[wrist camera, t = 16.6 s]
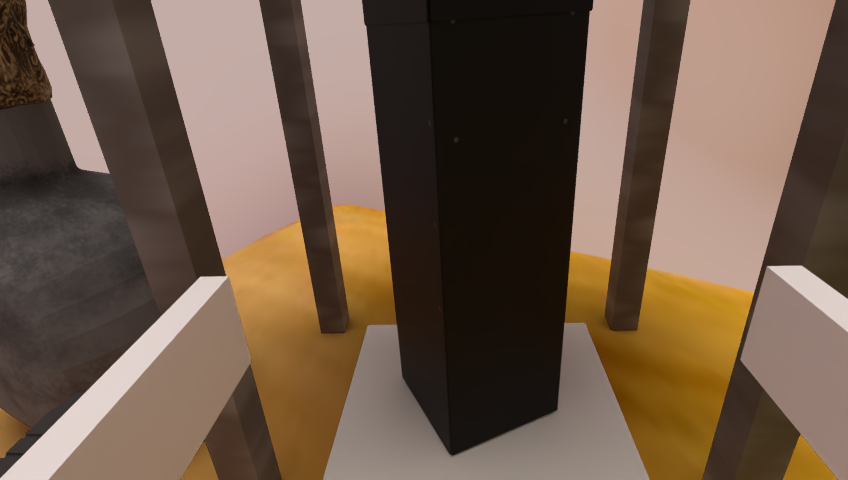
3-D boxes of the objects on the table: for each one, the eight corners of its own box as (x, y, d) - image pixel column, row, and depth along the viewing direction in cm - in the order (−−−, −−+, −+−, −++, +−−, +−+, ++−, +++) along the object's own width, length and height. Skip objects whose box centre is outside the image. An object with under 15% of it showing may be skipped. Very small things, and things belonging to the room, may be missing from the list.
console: (627, 312, 40) (719, -313, 24) (764, 553, 22) (1507, -1305, 6) (328, 315, 42) (228, -254, 26) (232, 537, 24) (-278, -850, 8)
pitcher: (122, 520, 26) (-244, -195, 13) (-45, 416, 34) (-372, -87, 21) (264, 388, 34) (131, -116, 22) (105, 330, 42) (-61, -61, 30)
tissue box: (400, 377, 34) (352, -89, 22) (494, 344, 37) (496, -87, 25) (450, 459, 27) (420, -142, 15) (560, 412, 30) (606, -130, 18)
